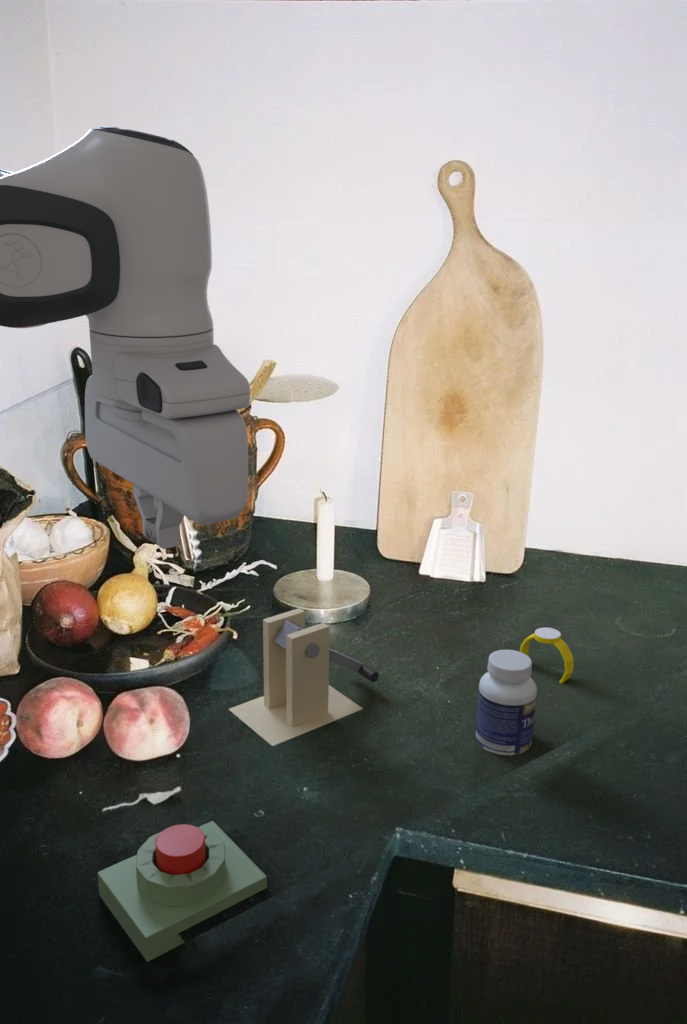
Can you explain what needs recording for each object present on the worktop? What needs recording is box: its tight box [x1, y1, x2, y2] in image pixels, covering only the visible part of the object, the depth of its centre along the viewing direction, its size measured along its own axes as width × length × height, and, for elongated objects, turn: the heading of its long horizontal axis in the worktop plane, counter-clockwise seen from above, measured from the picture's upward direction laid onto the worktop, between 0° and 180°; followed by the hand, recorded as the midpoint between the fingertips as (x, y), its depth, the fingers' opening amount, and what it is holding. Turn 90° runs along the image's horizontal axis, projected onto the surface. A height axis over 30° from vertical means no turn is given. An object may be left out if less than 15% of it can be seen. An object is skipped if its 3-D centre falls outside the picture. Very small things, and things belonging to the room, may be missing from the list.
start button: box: [156, 823, 206, 875], centre depth 69 cm, size 4×4×2 cm
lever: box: [275, 620, 380, 683], centre depth 94 cm, size 12×5×2 cm
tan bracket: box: [228, 607, 364, 747], centre depth 92 cm, size 11×8×11 cm
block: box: [96, 820, 268, 963], centre depth 70 cm, size 10×8×4 cm
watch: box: [519, 627, 575, 684], centre depth 101 cm, size 6×3×6 cm, turn 47°
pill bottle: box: [474, 649, 538, 756], centre depth 88 cm, size 5×5×10 cm
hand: (161, 542), depth 74 cm, fingers closed
